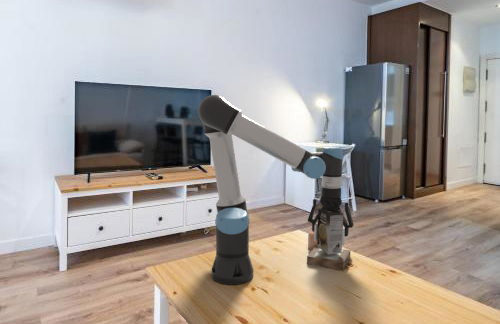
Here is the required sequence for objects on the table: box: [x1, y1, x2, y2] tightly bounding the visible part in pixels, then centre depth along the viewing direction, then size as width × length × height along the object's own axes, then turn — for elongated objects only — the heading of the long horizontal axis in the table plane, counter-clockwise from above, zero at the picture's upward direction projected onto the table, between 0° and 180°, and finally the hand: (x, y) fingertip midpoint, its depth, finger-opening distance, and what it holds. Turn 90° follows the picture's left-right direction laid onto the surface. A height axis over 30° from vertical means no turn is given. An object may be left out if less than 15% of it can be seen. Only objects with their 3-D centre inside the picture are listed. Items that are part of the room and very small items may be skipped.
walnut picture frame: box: [306, 245, 351, 271], centre depth 142 cm, size 14×14×3 cm
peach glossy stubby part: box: [307, 230, 318, 251], centre depth 155 cm, size 7×7×7 cm
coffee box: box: [317, 207, 345, 255], centre depth 141 cm, size 9×6×16 cm
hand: (329, 241), depth 141 cm, fingers closed on coffee box, 10 cm apart
